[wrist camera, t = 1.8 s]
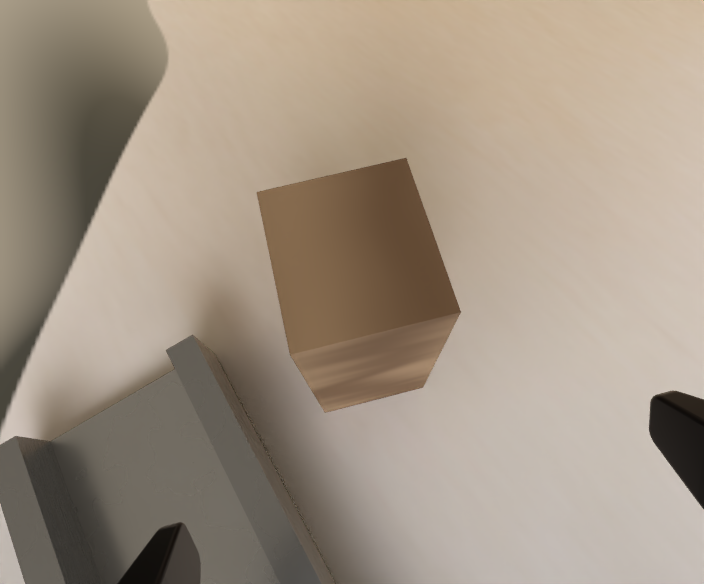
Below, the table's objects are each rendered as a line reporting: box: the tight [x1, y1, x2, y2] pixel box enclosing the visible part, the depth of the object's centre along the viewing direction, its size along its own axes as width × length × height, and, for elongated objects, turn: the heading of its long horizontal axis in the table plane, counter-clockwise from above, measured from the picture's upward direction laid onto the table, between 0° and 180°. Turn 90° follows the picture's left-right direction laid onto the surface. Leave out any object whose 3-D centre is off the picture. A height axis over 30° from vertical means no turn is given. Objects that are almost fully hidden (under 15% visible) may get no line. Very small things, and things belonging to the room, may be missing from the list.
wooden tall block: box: [257, 158, 461, 413], centre depth 18 cm, size 4×5×10 cm
